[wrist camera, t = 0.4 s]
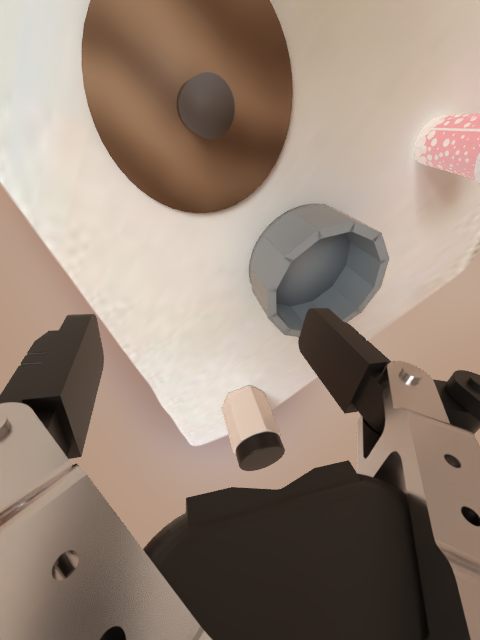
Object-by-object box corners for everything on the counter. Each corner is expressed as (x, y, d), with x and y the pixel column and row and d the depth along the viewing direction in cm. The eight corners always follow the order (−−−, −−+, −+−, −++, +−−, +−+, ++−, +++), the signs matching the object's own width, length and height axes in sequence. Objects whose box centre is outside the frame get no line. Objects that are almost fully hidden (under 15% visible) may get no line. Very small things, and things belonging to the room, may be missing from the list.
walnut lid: (97, -149, 15) (75, -268, 10) (320, 40, 22) (366, 23, 18) (76, 172, 23) (60, 188, 18) (243, 229, 31) (261, 251, 26)
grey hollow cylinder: (282, 184, 28) (313, 201, 23) (371, 226, 35) (411, 247, 30) (232, 297, 36) (247, 329, 31) (313, 313, 42) (337, 342, 37)
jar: (226, 416, 55) (242, 477, 46) (216, 396, 49) (232, 460, 40) (265, 401, 55) (289, 458, 46) (260, 380, 50) (285, 439, 41)
